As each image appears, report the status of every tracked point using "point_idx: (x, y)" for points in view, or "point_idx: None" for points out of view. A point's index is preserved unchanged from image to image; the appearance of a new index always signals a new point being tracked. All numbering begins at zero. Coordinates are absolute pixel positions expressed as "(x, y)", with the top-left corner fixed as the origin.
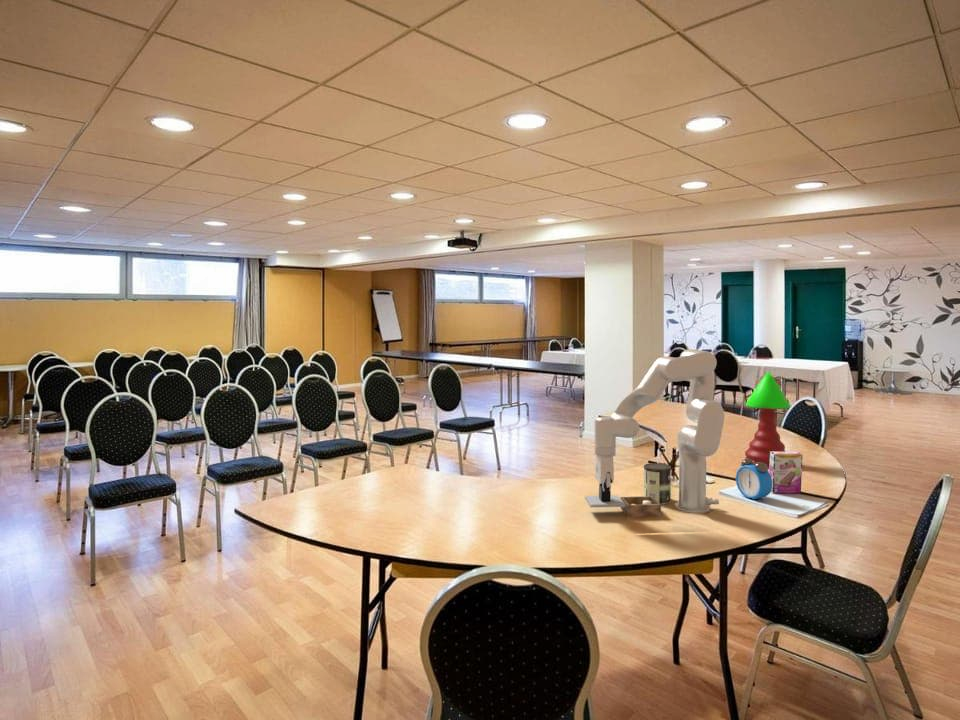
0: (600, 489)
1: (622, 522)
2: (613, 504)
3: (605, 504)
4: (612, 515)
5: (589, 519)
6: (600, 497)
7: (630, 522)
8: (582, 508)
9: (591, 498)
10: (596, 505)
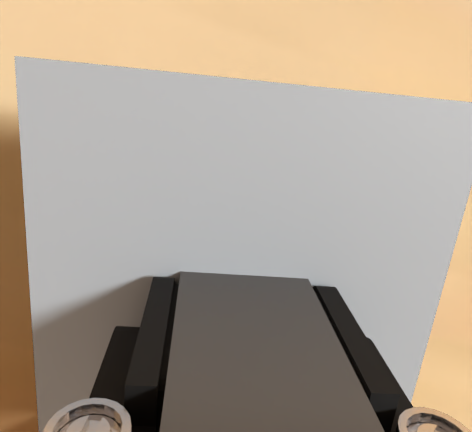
0: (241, 390)
1: (19, 336)
2: (38, 384)
3: (31, 288)
4: None
5: (122, 59)
6: (229, 295)
7: (18, 392)
8: (464, 94)
9: (341, 172)
10: (27, 153)
